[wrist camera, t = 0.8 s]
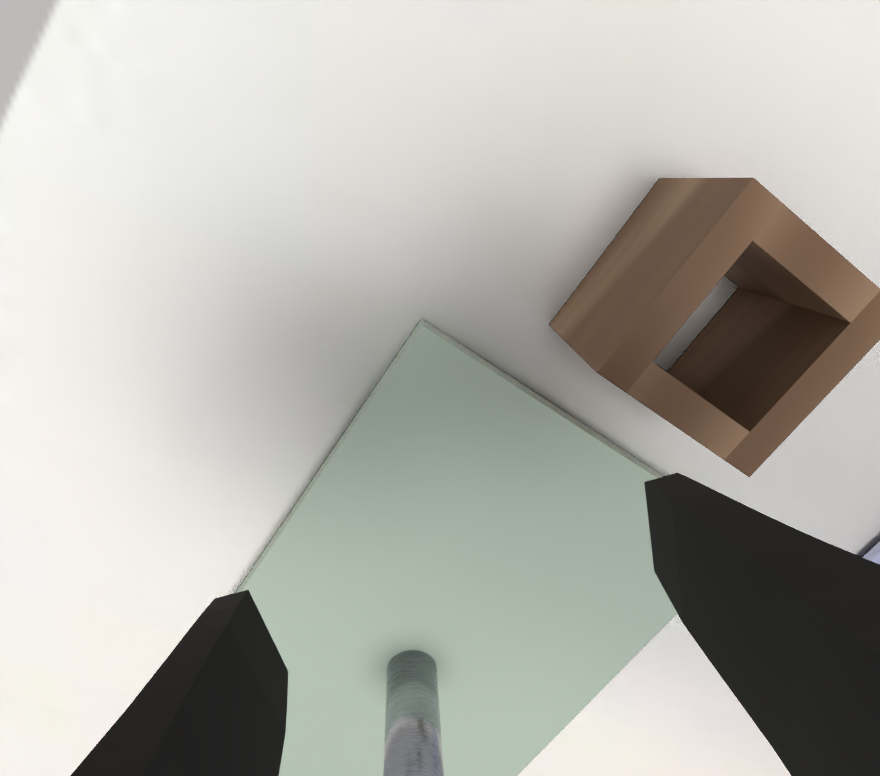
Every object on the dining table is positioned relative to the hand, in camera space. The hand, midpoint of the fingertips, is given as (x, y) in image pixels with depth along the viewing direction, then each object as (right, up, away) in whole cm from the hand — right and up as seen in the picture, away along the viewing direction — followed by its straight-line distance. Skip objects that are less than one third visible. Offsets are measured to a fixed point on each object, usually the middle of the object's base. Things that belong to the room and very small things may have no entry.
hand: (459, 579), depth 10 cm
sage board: (0, -6, +13) cm, 14 cm away
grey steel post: (-2, -8, +13) cm, 16 cm away
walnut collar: (+7, +6, +9) cm, 13 cm away
